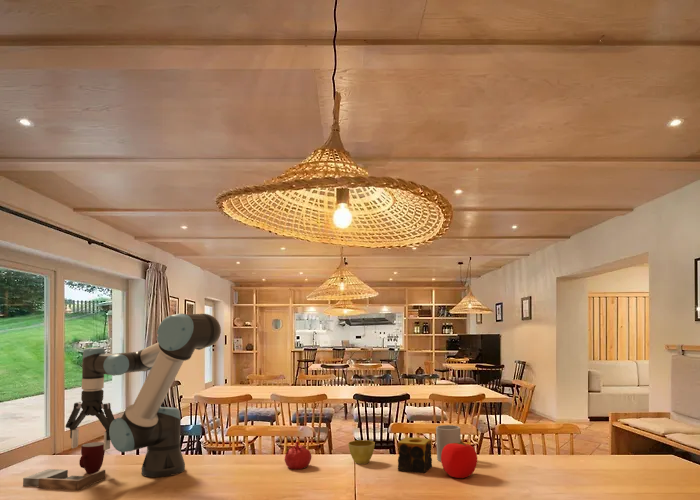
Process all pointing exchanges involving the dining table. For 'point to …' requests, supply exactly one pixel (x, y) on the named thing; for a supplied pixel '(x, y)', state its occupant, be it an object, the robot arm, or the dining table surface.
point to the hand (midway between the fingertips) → (90, 448)
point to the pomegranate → (297, 457)
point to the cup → (446, 437)
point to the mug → (92, 456)
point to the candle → (414, 455)
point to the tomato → (459, 459)
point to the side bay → (62, 479)
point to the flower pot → (361, 450)
